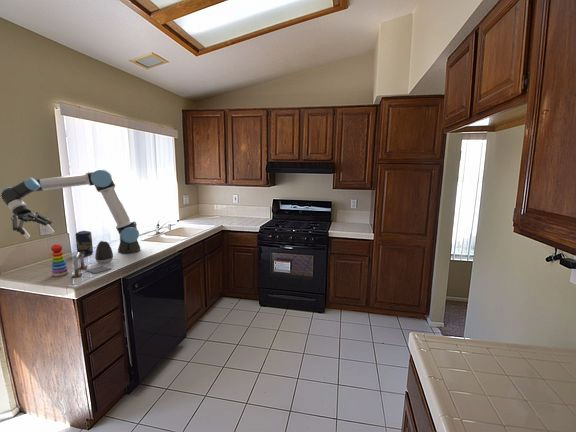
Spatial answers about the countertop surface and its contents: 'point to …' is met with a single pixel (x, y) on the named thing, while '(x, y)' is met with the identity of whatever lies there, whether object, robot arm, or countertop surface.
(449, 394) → the countertop surface
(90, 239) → the canister
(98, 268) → the mat
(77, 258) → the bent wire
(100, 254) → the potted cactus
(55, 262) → the stacking toy
